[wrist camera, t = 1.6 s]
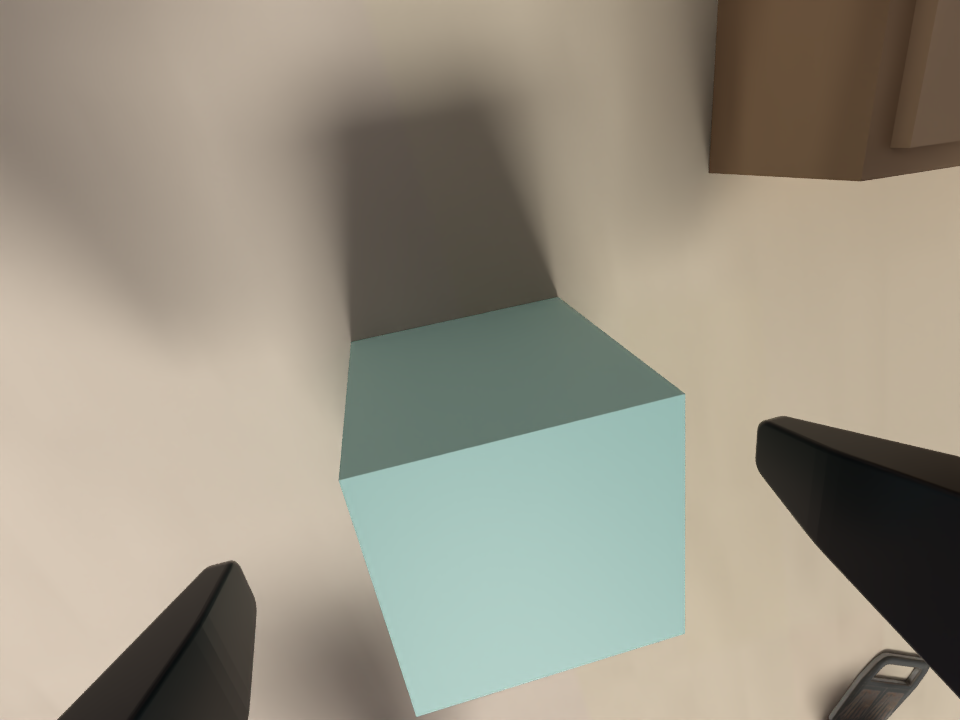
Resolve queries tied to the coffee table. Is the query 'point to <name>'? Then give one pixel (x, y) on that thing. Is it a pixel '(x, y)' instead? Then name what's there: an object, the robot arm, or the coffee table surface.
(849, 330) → the coffee table surface
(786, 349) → the coffee table surface
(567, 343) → the teal block
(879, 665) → the folding plastic stand
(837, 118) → the walnut box
